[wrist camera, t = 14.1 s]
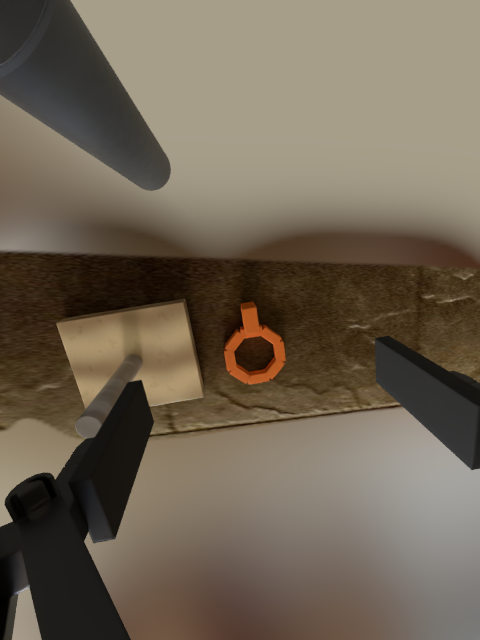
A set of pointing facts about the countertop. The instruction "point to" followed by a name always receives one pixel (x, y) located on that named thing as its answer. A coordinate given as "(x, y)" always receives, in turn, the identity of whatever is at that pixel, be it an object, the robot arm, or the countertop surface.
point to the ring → (246, 331)
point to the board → (140, 338)
